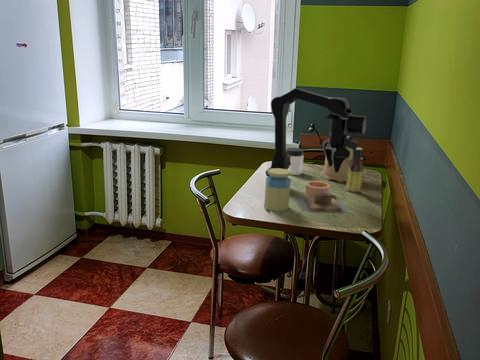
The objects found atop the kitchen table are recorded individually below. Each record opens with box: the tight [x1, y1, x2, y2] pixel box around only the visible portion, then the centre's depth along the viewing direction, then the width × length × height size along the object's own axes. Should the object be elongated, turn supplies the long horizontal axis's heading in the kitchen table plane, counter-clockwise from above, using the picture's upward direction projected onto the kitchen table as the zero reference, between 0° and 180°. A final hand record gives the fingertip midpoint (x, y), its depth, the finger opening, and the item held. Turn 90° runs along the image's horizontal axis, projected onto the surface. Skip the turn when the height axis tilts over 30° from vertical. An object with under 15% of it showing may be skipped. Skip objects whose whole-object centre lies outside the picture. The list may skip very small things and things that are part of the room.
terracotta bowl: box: [304, 180, 331, 198], centre depth 186 cm, size 10×10×5 cm
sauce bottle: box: [345, 146, 364, 194], centre depth 190 cm, size 6×6×20 cm
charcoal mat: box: [296, 198, 350, 214], centre depth 172 cm, size 18×14×1 cm
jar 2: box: [286, 147, 304, 176], centre depth 218 cm, size 9×8×12 cm
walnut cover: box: [303, 193, 341, 212], centre depth 171 cm, size 12×12×5 cm
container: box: [323, 147, 353, 183], centre depth 211 cm, size 13×13×18 cm
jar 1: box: [264, 168, 292, 212], centre depth 166 cm, size 9×9×15 cm
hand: (333, 169), depth 178 cm, fingers open, 9 cm apart
